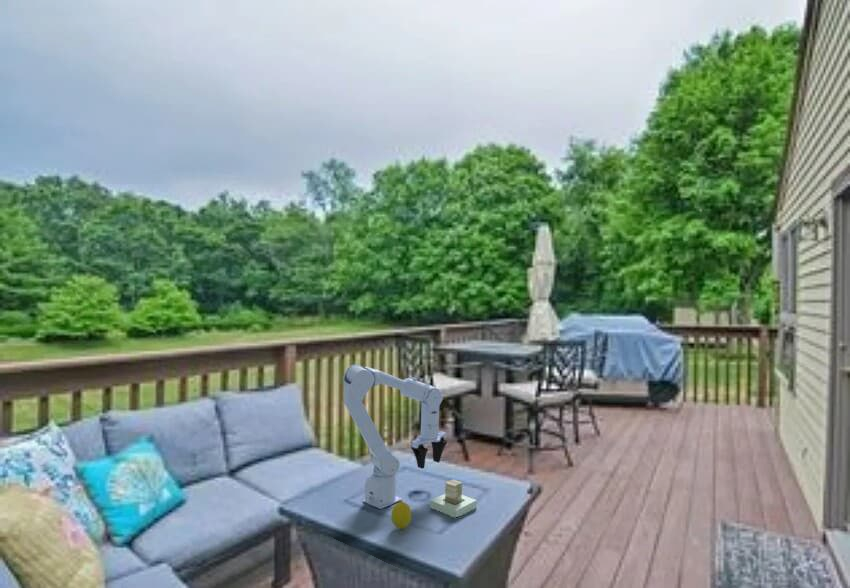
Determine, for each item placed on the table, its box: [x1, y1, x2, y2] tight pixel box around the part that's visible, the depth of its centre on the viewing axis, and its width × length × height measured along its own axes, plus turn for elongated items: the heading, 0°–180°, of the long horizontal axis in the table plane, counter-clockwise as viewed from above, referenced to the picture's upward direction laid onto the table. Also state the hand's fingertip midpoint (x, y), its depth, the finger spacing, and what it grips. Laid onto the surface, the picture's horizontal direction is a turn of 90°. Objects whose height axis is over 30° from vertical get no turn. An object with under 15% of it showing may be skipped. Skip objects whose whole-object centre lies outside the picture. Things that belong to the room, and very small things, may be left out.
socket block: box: [430, 493, 478, 518], centre depth 178 cm, size 10×10×2 cm
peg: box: [444, 479, 463, 505], centre depth 178 cm, size 4×4×8 cm
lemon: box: [391, 500, 412, 530], centre depth 164 cm, size 6×6×8 cm
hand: (428, 464), depth 188 cm, fingers open, 7 cm apart
